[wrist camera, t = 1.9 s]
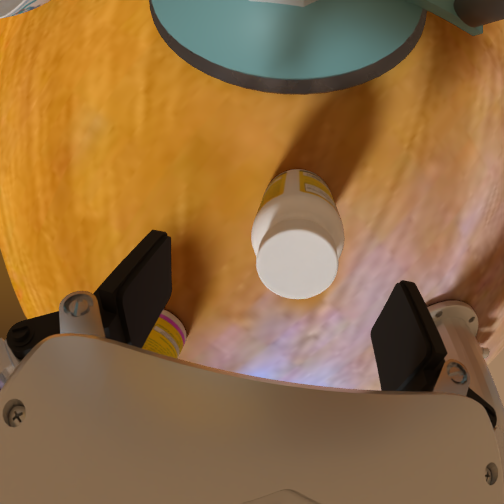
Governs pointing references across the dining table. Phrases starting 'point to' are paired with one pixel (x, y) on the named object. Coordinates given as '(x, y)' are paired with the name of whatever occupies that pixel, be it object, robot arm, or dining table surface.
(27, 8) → the chinaware
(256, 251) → the supplement bottle
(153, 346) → the supplement bottle
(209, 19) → the turntable
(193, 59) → the turntable base
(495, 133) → the dining table surface
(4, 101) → the dining table surface
